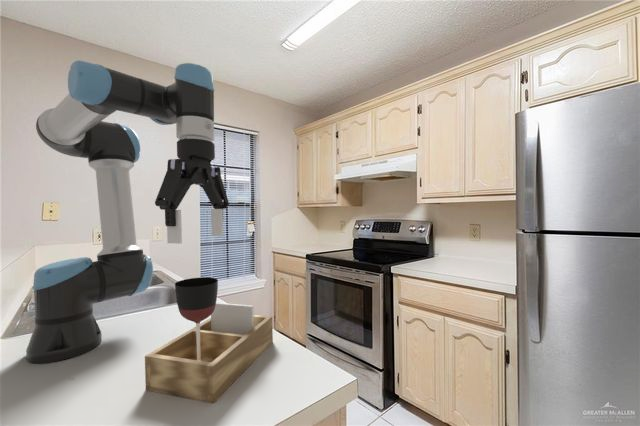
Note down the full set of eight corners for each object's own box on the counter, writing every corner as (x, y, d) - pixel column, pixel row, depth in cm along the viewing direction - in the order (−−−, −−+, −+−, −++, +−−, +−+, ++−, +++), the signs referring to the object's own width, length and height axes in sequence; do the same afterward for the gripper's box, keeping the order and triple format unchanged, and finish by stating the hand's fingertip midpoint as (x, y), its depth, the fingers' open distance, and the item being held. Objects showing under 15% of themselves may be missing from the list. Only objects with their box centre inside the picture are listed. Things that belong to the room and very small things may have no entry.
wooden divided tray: (145, 390, 60) (144, 356, 60) (221, 335, 85) (221, 311, 85) (213, 403, 55) (212, 366, 55) (272, 341, 80) (272, 316, 80)
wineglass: (207, 386, 59) (204, 287, 58) (168, 382, 61) (165, 286, 60) (226, 365, 67) (224, 277, 66) (192, 362, 68) (190, 276, 68)
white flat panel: (211, 344, 77) (210, 303, 77) (213, 343, 78) (212, 302, 78) (252, 350, 74) (251, 306, 74) (254, 348, 75) (253, 305, 74)
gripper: (165, 124, 50) (168, 247, 51) (242, 150, 74) (243, 234, 75) (130, 127, 52) (133, 246, 53) (216, 152, 76) (218, 233, 77)
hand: (198, 239), depth 64 cm, fingers open, 13 cm apart
